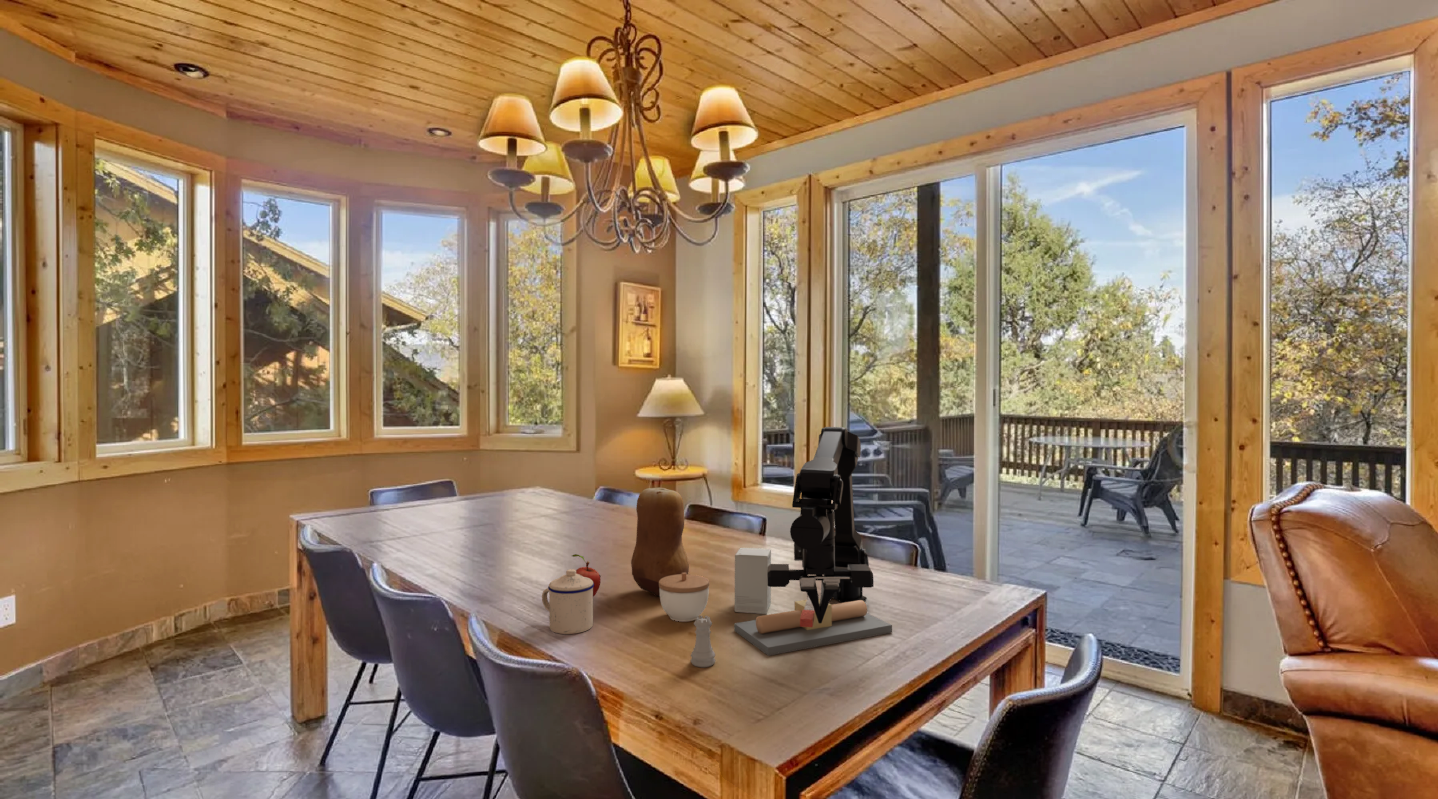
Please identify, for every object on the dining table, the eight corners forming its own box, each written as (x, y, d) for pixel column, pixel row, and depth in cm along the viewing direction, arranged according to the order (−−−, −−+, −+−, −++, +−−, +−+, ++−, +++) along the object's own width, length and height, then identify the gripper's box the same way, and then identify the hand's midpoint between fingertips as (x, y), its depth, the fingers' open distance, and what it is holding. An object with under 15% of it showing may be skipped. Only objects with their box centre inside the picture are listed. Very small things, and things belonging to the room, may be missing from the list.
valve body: (850, 611, 147) (850, 583, 147) (892, 632, 134) (892, 601, 134) (734, 630, 135) (734, 599, 135) (768, 655, 123) (768, 621, 123)
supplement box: (767, 614, 145) (767, 556, 145) (733, 612, 147) (733, 554, 146) (771, 604, 152) (771, 548, 152) (739, 602, 154) (739, 546, 154)
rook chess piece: (689, 658, 121) (689, 614, 121) (714, 657, 122) (714, 613, 122) (690, 668, 117) (690, 622, 117) (716, 667, 117) (716, 621, 117)
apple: (604, 594, 160) (604, 551, 160) (596, 603, 153) (596, 559, 153) (573, 593, 161) (573, 551, 161) (563, 601, 154) (563, 558, 154)
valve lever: (807, 598, 136) (807, 592, 136) (819, 599, 136) (819, 592, 136) (799, 626, 120) (799, 618, 120) (813, 627, 120) (813, 619, 120)
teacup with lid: (603, 623, 140) (602, 567, 139) (574, 638, 131) (574, 578, 131) (557, 615, 145) (557, 560, 145) (527, 628, 137) (527, 571, 137)
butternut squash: (695, 586, 166) (694, 484, 165) (680, 603, 152) (680, 493, 152) (640, 583, 168) (640, 483, 168) (622, 599, 155) (622, 491, 155)
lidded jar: (683, 629, 136) (683, 583, 136) (648, 617, 143) (648, 573, 143) (719, 616, 144) (719, 572, 144) (684, 605, 151) (684, 563, 151)
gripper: (864, 527, 130) (865, 608, 130) (767, 527, 131) (768, 607, 132) (873, 540, 119) (874, 629, 119) (766, 540, 120) (768, 628, 120)
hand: (819, 622), depth 123 cm, fingers closed
